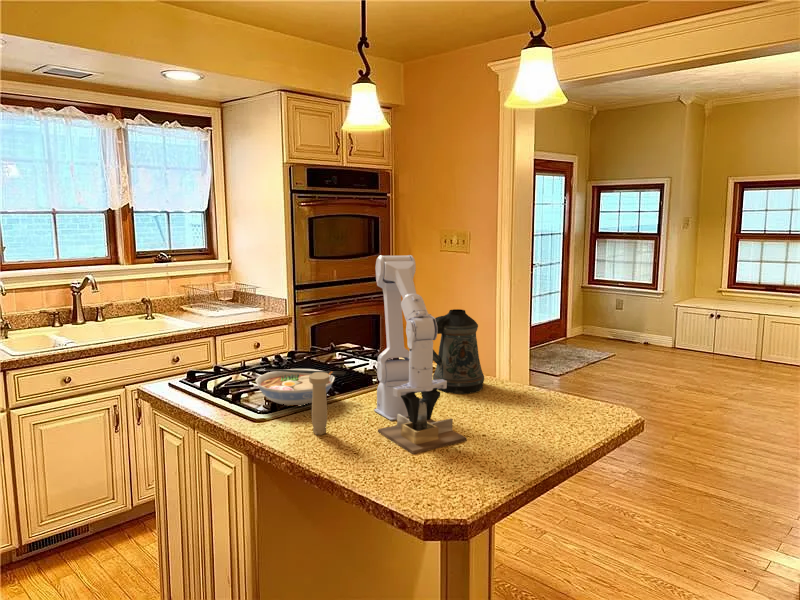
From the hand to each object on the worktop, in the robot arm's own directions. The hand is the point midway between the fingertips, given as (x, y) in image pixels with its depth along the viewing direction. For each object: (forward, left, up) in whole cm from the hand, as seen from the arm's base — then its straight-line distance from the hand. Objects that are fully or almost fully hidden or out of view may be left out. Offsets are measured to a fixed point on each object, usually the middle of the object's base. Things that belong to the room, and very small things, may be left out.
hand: (419, 420), depth 146 cm
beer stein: (-31, +35, -5) cm, 47 cm away
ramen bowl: (-42, -15, -5) cm, 45 cm away
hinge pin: (0, 0, -2) cm, 2 cm away
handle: (-17, -19, -5) cm, 26 cm away
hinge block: (-2, +2, -5) cm, 6 cm away
